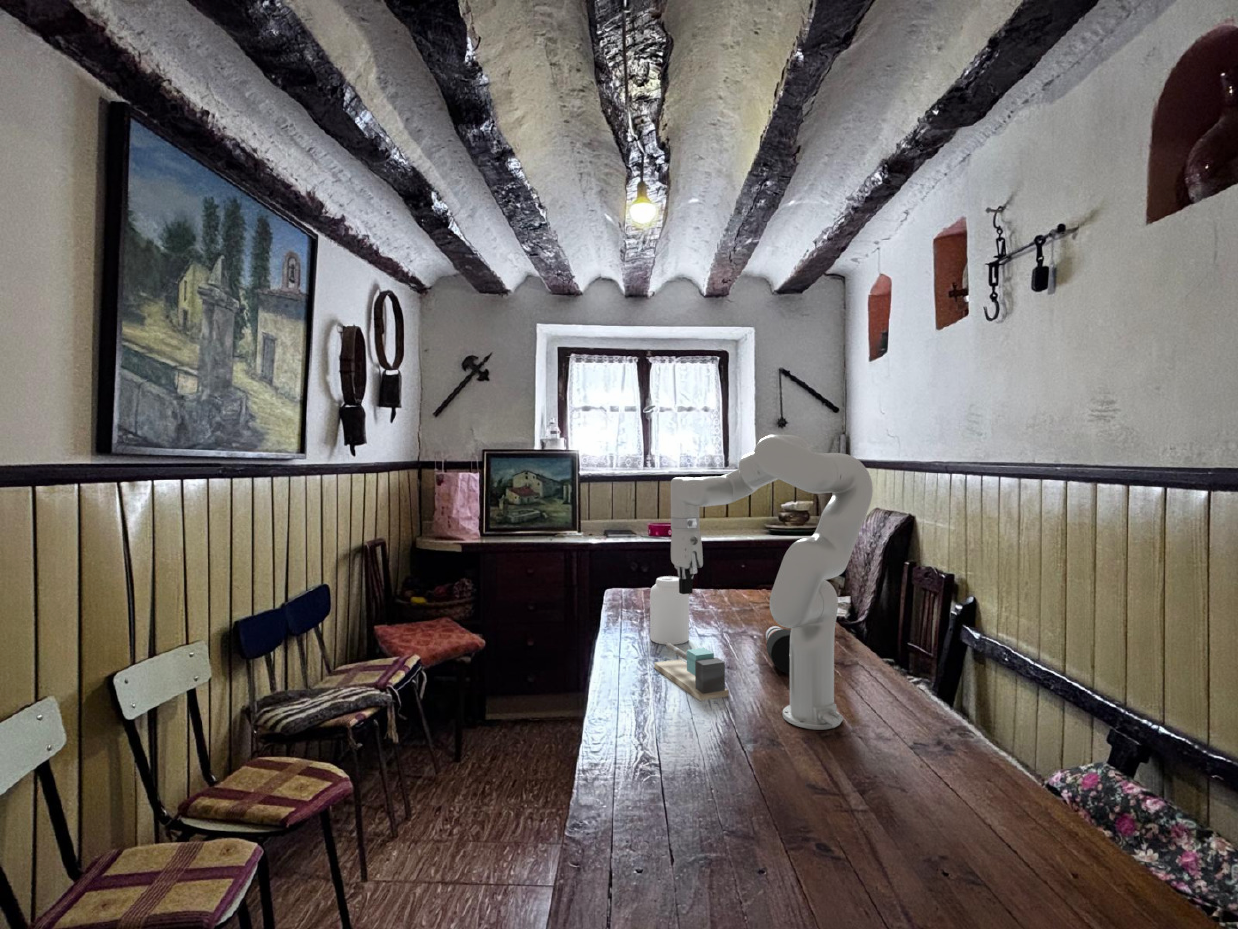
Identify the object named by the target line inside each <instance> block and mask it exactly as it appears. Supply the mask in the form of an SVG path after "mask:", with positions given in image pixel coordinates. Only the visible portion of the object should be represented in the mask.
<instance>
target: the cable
mask: <svg viewBox="0 0 1238 929" xmlns="http://www.w3.org/2000/svg"><path fill="white" fill-rule="evenodd" d="M790 633H791V629H788V628H782V627H779V626H778V625H777V626H776V625H773V626H771V627H769V628H768V629H767V630H766V632H765V639H766V653H767V655H768V657H769V659H770V661H771V662H772V663H773V665H774V666H775V667H776V669H777V670H778V671H780V672H783V673H785V674H787V675H788V674H789V675H790Z"/></svg>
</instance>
